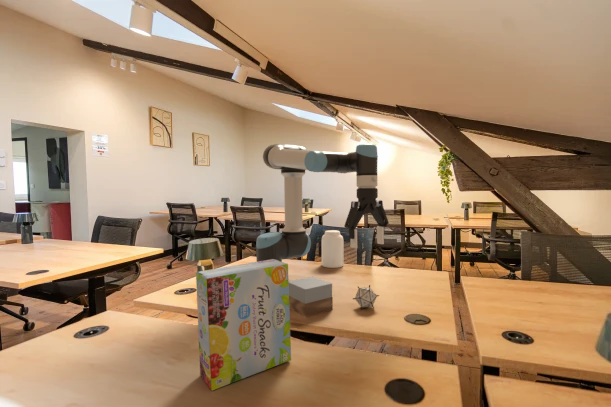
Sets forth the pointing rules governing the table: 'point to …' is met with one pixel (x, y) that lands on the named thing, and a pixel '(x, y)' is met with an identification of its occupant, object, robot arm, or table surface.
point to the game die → (365, 297)
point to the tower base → (311, 306)
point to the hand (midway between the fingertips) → (367, 245)
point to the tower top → (310, 289)
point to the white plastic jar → (332, 249)
